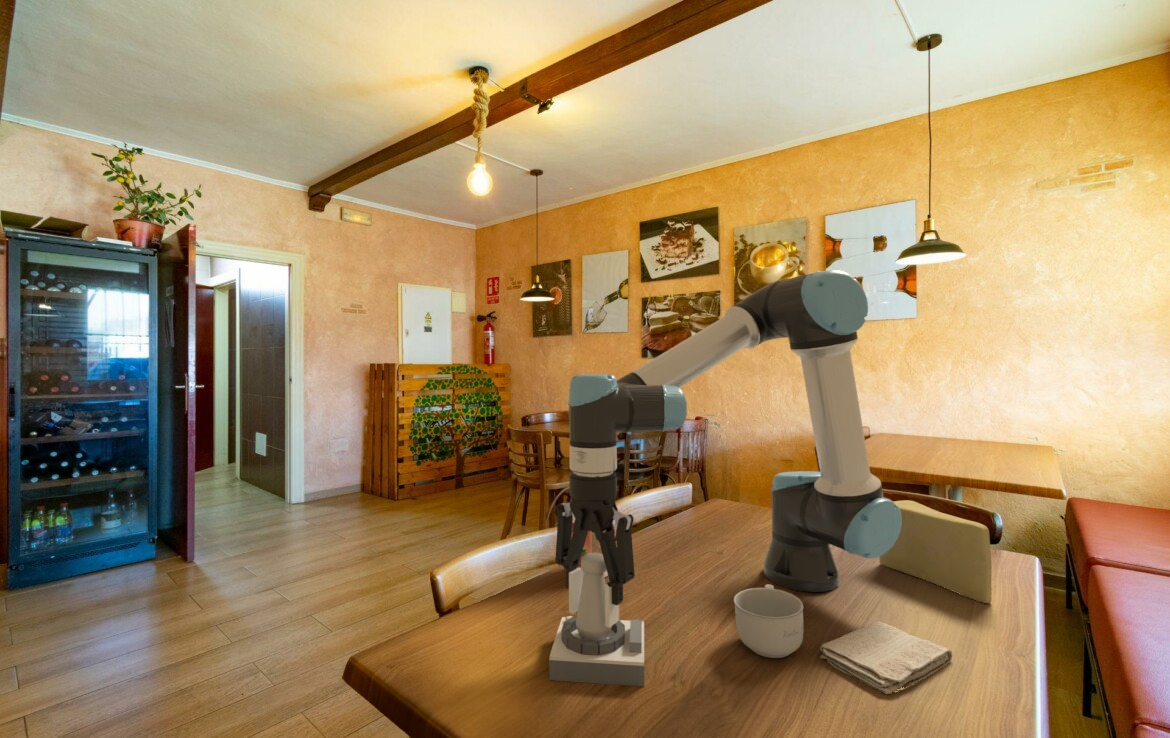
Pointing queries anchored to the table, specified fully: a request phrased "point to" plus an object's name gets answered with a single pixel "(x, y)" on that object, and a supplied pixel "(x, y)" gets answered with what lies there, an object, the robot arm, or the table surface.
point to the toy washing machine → (599, 655)
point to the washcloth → (885, 656)
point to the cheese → (942, 551)
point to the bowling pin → (592, 599)
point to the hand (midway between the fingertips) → (593, 616)
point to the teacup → (769, 621)
